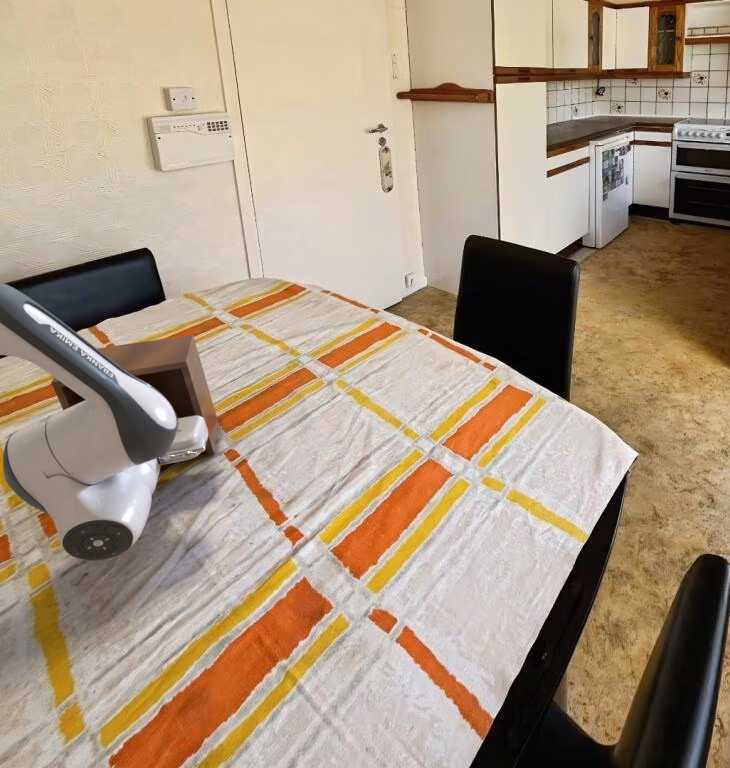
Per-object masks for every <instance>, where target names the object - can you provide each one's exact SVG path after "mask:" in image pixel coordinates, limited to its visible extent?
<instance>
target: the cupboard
mask: <svg viewBox="0 0 730 768" xmlns="http://www.w3.org/2000/svg"><path fill="white" fill-rule="evenodd" d="M96 348H97V349H98V350H99V351H101V352H102V353H103V354H104V355H106V356H107V357H108V358H110V359H111V360H112V361H113V362H115V363H116V364H117V365H119V366H120V367H121V368H123V369H124V370H125V371H127V372H128V373H130V374H131V375H133V376H135V377H137V378H138V379H140V380H142V381H144V382H146V383H147V384H149V385H151V386H152V387H154V388H155V389H157V390H158V391H159V392H160V393H161V394H162V395H163V396H164V397H165V398H166V399H167V400H168V401H169V403H170V404H171V406H172V407H173V409H174V411H175V413H176V415H177V418H184V417H190V416H195V415H198V416H201V417H203V418H204V420H205V422H206V425H207V429H208V439H207V442H206V448H205V450H204V451H203V452H201V453H200V454H199V455H198V456H196V457H195V458H192V459H191V460H194V459H199V458H202V457H209V456H214V455H215V452H216V446H217V445H216V444H217V438H218V437H217V436H218V428H219V420H218V416H217V412H216V408H215V406H214V401H213V399H212V395H211V392H210V389H209V386H208V382H207V378H206V374H205V371H204V367H203V364H202V361H201V358H200V354H199V350H198V348H197V344H196V341H195V337H194V334H189V335H182V336H181V335H180V336H175V337H167V338H160V339H154V340H147V341H139V342H132V343H125V344H118V345H111V346H105V347H96ZM50 384H51V385H52V388H53V390H54V392H55V394H56V397H57V399H58V401H59V404H60V406H61V408H62V411H63V410H65V409H67V408H69V407H71V406H74V405H76V404H78V403H80V402H82V401H85V400H86V399H84V398H83V397H81V396H80V395H78V394H77V393H76V392H74V391H73V390H71V389H70V388H69V387H67V386H66V385H64V384H63V383H61V382H60V381H59V380H57V379H56V378H54V377H53V379H52V380H51V382H50Z"/></svg>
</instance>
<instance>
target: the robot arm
mask: <svg viewBox="0 0 730 768" xmlns="http://www.w3.org/2000/svg"><path fill="white" fill-rule="evenodd" d="M97 348H98V347H96V346H94V345H93V344H92V343H91V342H89V341H88V340H87V339H85V338H84V336H83V337H82V335H80V334H79V333H78V332H76V331H75V330H73V329H72V328H71V326H68V325H67V324H66V323H65V322H63V321H62V320H61V319H59V317H57V316H56V315H54V314H53V313H51V312H50V311H49V310H47V309H46V308H45V307H43V306H42V305H41V304H39V303H38V302H37V301H35V300H33V298H30V297H29V296H28V295H26V294H25V293H23V292H22V291H20V290H18V289H16V288H15V287H13V286H10V285H8V284H7V283H2V282H0V356H8V357H14V358H18V359H22V360H25V361H27V362H30V363H33V364H34V365H35V366H37V367H38V368H39V369H42V370H43V371H44V372H46V373H47V374H48V375H50V376H51V377H53V379H54V378H56V379H57V380H59V381H60V382H61V383H63V384H64V385H66V386H67V387H69V388H70V389H71V390H73V391H74V392H76V393H77V394H78V395H80V396H81V397H83V398H84V399H86V400H85V401H82V402H80V403H78V404H76V405H74V406H71V407H69V408H67V409H65V410H63V409H62V410H60V411H58V412H57V413H53V414H50V415H48V416H46V417H44V418H41V419H40V420H37V421H35V422H33V423H31V424H28V425H26V426H25V427H23V428H21V429H18V430H16V431H14V432H12V433H11V434H10V435H9V436H8V438H7V440H6V442H5V445H4V448H3V452H2V471H3V477H4V479H5V481H6V483H7V486H8V487H9V488H10V489H11V490H12V491H13V493H15V495H16V496H18V497H19V498H20V499H21V500H22V501H24V502H25V503H27V504H28V505H30V506H32V507H33V508H35V509H37V510H39V511H41V512H43V513H45V514H47V515H49V516H50V518H51V520H52V521H53V524H54V526H55V529H56V532H57V533H56V534H57V538H58V542H59V544H60V546H61V548H62V550H63V551H65V553H66V554H67V555H69V556H71V557H73V558H75V559H78V560H83V561H90V562H92V561H93V562H95V561H103V560H108V559H112V558H115V557H117V556H120V555H121V554H124V553H125V552H127V551H128V550H130V549H131V548H132V547H133V546H134V545H135V543H136V542H137V541H138V539H139V538H140V536H141V535H142V533H143V531H144V529H145V526H146V524H147V521H148V518H149V515H150V511H151V507H152V503H153V502H152V501H153V497H152V495H153V494H154V492H155V490H156V487H157V484H158V480H159V475H160V472H161V468H162V466H163V465H169V464H174V463H180V462H185V461H189V460H193V459H192V458H194V459H196V458H195V457H196V456H198V455H199V454H200V453H201V452H203V451H204V450H205V448H206V442H207V439H208V429H207V425H206V422H205V420H204V418H203V417H201V416H198V415H195V416H190V417H184V418H177V415H176V413H175V411H174V409H173V407H172V406H171V404H170V403H169V401H168V400H167V399H166V398H165V397H164V396H163V395H162V394H161V393H160V392H159V391H158V390H157V389H155V388H154V387H152V386H151V385H149V384H147V383H146V382H144V381H142V380H140V379H138V378H137V377H135V376H133V375H131V374H130V373H128V372H127V371H125V370H124V369H123V368H121V367H120V366H119V365H117V364H116V363H115V362H113V361H112V360H111V359H110V358H108V357H107V356H106V355H104V354H103V353H102V352H101V351H99V350H98V349H97Z"/></svg>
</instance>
